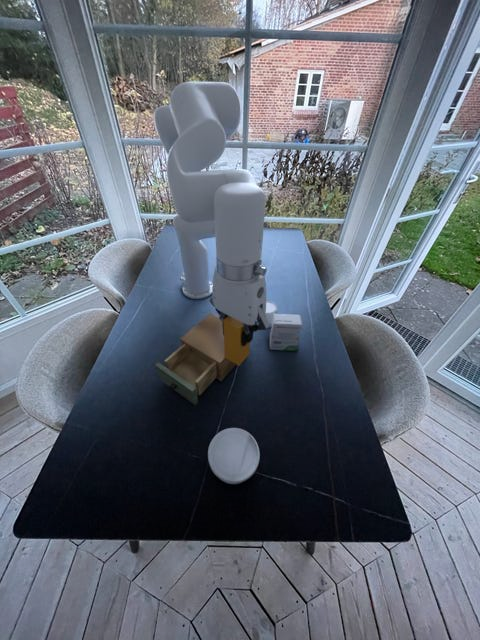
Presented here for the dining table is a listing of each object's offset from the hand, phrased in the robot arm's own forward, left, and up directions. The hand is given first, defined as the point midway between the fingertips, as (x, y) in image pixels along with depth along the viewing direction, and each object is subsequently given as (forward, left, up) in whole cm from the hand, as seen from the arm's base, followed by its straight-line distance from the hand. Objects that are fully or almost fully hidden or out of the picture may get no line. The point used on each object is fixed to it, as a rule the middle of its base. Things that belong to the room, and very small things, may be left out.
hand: (237, 336), depth 58 cm
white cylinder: (-8, +29, -23) cm, 38 cm away
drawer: (-13, -4, -22) cm, 26 cm away
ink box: (+2, +23, -23) cm, 33 cm away
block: (0, 0, -7) cm, 7 cm away
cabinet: (-13, +7, -23) cm, 28 cm away
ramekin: (+10, -15, -23) cm, 29 cm away
